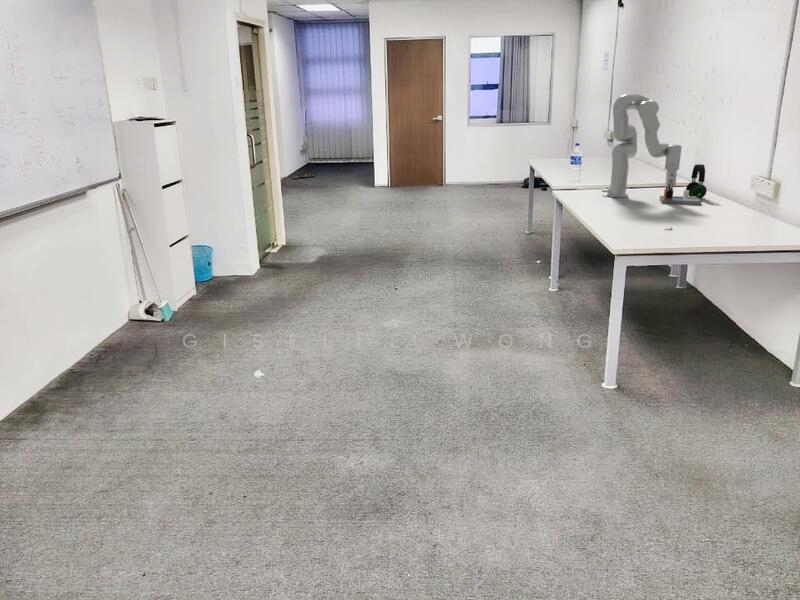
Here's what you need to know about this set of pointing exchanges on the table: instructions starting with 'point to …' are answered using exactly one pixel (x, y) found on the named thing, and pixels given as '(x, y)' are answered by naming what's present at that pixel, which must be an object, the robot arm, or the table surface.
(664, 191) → the cap
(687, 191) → the block
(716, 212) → the table surface
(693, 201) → the panel
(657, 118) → the robot arm
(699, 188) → the headphones
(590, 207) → the table surface
